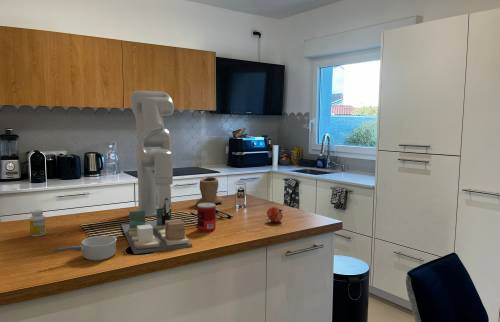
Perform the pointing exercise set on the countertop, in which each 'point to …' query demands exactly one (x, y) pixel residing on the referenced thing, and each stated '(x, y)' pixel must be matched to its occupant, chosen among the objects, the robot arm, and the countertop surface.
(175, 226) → the cube
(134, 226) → the broken strip
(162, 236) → the strip
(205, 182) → the stone cup
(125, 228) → the mat
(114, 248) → the saucepan
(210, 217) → the canned food
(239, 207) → the countertop surface
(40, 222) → the supplement bottle
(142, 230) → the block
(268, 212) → the pomegranate
